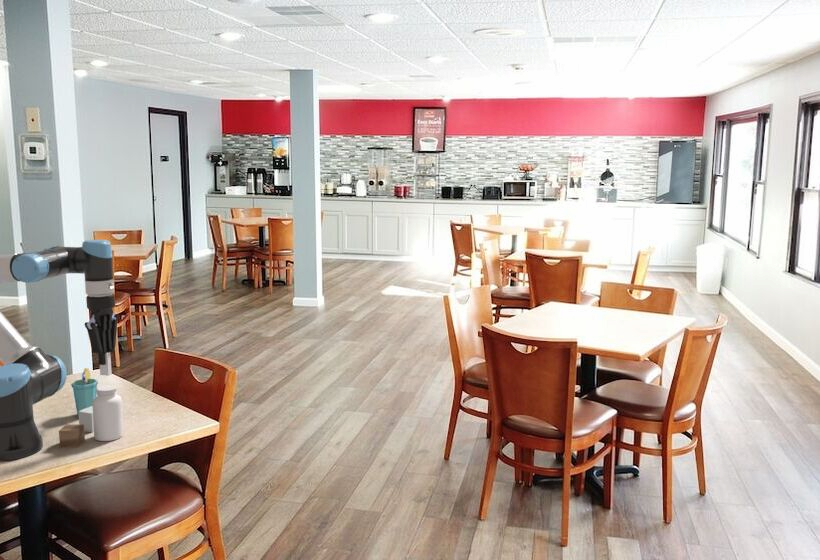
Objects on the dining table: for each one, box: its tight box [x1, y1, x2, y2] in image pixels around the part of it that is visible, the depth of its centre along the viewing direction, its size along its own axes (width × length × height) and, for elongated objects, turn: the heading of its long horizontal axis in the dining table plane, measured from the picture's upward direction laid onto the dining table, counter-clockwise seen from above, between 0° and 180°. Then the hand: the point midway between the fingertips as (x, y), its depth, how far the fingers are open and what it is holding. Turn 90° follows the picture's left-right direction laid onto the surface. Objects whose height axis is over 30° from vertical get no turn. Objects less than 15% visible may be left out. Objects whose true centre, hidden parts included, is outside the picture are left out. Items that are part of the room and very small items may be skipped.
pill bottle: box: [92, 384, 124, 442], centre depth 214 cm, size 8×8×15 cm
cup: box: [70, 367, 99, 417], centre depth 232 cm, size 14×8×15 cm, turn 24°
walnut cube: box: [58, 423, 86, 448], centre depth 209 cm, size 5×5×5 cm
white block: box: [78, 406, 94, 434], centre depth 221 cm, size 5×5×6 cm
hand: (106, 374), depth 212 cm, fingers closed
